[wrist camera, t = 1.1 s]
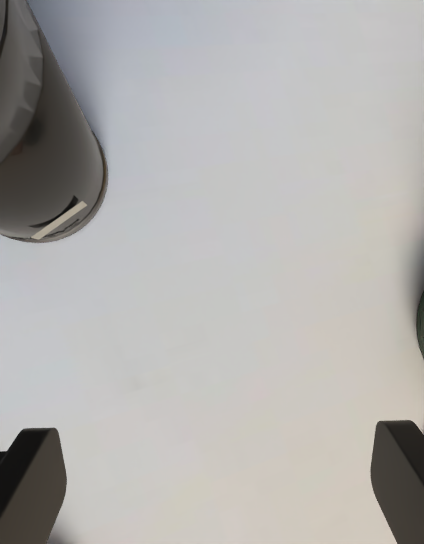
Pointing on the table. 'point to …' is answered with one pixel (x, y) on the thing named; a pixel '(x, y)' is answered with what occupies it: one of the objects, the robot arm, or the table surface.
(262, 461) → the table surface
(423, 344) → the dish
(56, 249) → the table surface
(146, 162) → the table surface
